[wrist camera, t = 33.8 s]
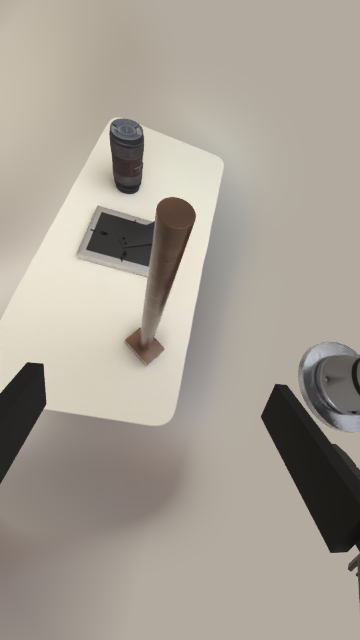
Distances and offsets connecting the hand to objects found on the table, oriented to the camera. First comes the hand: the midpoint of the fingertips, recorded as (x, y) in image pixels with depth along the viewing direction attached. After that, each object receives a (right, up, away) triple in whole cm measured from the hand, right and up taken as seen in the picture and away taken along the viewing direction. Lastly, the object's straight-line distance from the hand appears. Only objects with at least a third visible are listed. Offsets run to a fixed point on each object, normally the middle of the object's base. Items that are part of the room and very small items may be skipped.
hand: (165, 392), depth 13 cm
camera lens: (-14, +44, +54) cm, 71 cm away
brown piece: (-7, -2, +39) cm, 39 cm away
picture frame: (-13, +24, +47) cm, 54 cm away
